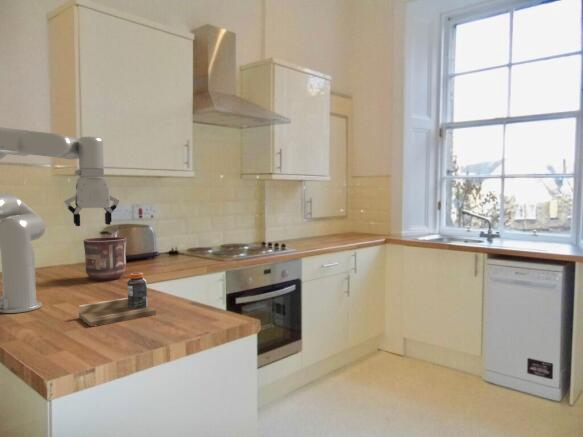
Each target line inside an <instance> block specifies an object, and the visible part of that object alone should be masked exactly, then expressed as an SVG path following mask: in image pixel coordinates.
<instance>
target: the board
mask: <svg viewBox="0 0 583 437" xmlns="http://www.w3.org/2000/svg"><path fill="white" fill-rule="evenodd" d="M155 315H157V310H156V308H155V309H154V308H153V307H151V306H149V305H147V307H145V308H142V309H130V308H129V307H128V297H124V298H117V299H112V300H104V301H100V302H99V301H97V302H92V303H86V304H81V305H80V304H79V305H78V318H79V320H81V319H82V320H83V321H82V320H81V321H82V322H83V323H85V322H86V323H87V324H88V325H87V324H86V323H85V324H86V325H87V326H89V325H90V326H94V327H96V326H95V325H99V326H104V325H109V324H114V322H115V323H119V321H120V322H124V321H130V320H134V319H140V318H145V317H150V316H155ZM108 323H109V324H108ZM103 324H104V325H103ZM90 326H89V327H90Z"/></svg>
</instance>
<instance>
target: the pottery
mask: <svg viewBox="0 0 583 437" xmlns="http://www.w3.org/2000/svg"><path fill="white" fill-rule="evenodd" d="M127 241H128V240H127V237H123V236H106V237H105V236H103V237H100V236H99V237H93V238H92V237H91V238H85V239H83V247H84V257H85V259H84V260H85V262H84V263H85V264H84V265H85V273H86V275H87V276H88V278H89V279H90V280H92V281H94V282H108V281H109V282H110V281H115V280H119V279H120V278H122V277H123V275H124V273H125V271H126V269H127V268H126V267H127V260H126V259H127V258H126V253H127V252H126V251H127V250H126V247H127Z"/></svg>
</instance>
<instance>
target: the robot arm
mask: <svg viewBox="0 0 583 437" xmlns="http://www.w3.org/2000/svg"><path fill="white" fill-rule="evenodd" d="M7 155H15V156H22V157H23V156H24V157H26V156H28V155H30V156H39V157H41V156H42V157H49V158H51V157H52V158H57V159H64V160H65V159H66V160H78V169H77V170H74V175H77V176H78V177H79V178H76V184H75V195H73V196H72V197H70V198H67V199H65V200H64V201H63V203H64V205H65V206H66V208H67V209H68V211H69V212H70V213H71V214H73V224H75V227H80V226H81V214H80V213H79V212H80V211H81V210H82V209H104V211H105V213H104V223H105V225H107V226H110V225H111V222H112V213H113V212H114V211H115V209H117V206H118V205H119V203H120V200H119V199H117V198H115V197H113V196H111V195H110V189H109V184H108V179H107V178H105V173H104V170H105V169H104V166H105V165H104V142H103V139H102V138H101V137H97V136H81V137H73V136H69V135H65V134H61V133H54V132H44V131H32V130H28V129H27V130H26V129H21V128H20V129H18V128H10V127H8V128H7V127H1V126H0V160H2V159H3V158H5V157H6V156H7ZM72 202H75V207H73V206H72V205H71V203H72ZM111 202H112V205H111ZM110 205H111V206H110ZM45 231H46V224H45V221H44V220H43V218H42V217H41V216H40V215H39V214H38V213H37V212H35V211H34V210H33V209H32V208H31V207H29V205H28V204H26V203H25V202H24V201H23V200H22V199H20V198H19V197H17V196H16V195H14V194H11V193H7V192H0V259H1V260H0V261H1V262H0V264H1V274H2V276H1V277H2V278H1V281H2V295H1V296H0V313H2V314H17V313H25V312H30V311H34V310H37V309H39V308H41V307H42V306H43V304H42V302H41V301H39V300H37V287H36V286H37V285H36V284H37V283H36V265H35V264H36V263H35V262H36V261H35V252H34V249H33V248H34V247H33V246H32V242H33V241H35V240H38V239H40V238H41V237H42V236H43V235H44V234H45Z"/></svg>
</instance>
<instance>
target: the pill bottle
mask: <svg viewBox="0 0 583 437" xmlns="http://www.w3.org/2000/svg"><path fill="white" fill-rule="evenodd" d="M129 275H130V276H129V278H130V279H129V280H128V281H127V282H126V283H127V298H128V307H129V308H130V309H142V308H145V307H147V306H148V290H147V288H148V286H147V280H146V279H145V278H144V273H143V272H131V273H130V274H129Z"/></svg>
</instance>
